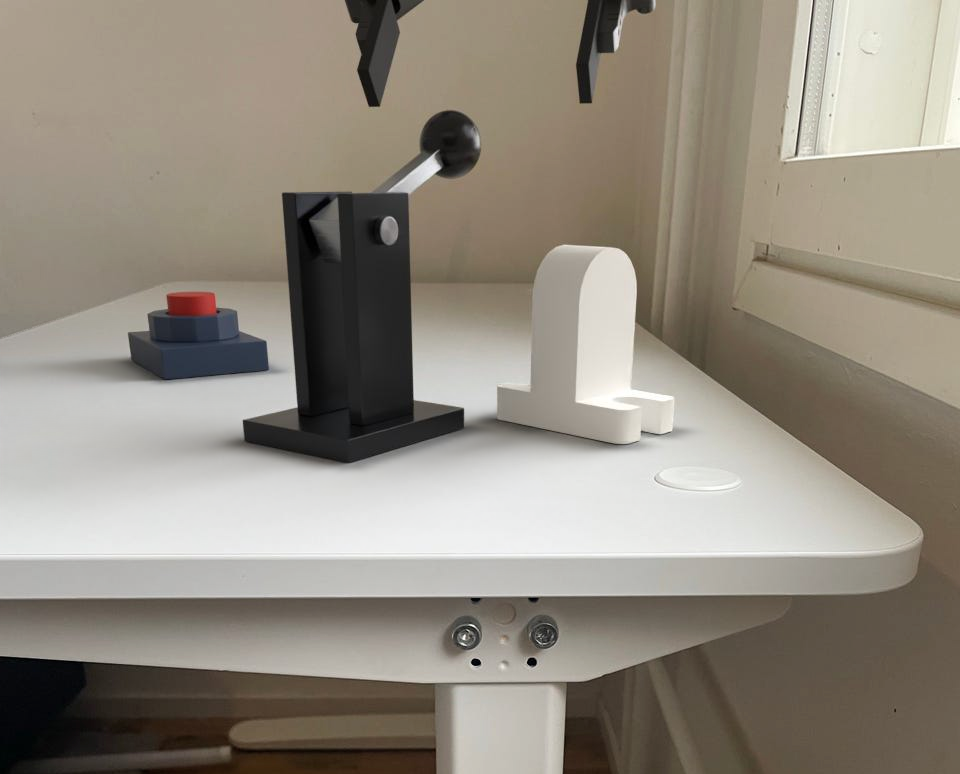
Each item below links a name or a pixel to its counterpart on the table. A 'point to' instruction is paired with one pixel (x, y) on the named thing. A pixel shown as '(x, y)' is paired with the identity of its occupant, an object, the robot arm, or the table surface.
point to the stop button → (191, 303)
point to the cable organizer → (585, 352)
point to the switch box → (197, 345)
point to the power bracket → (351, 335)
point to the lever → (413, 171)
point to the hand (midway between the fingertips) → (473, 87)
